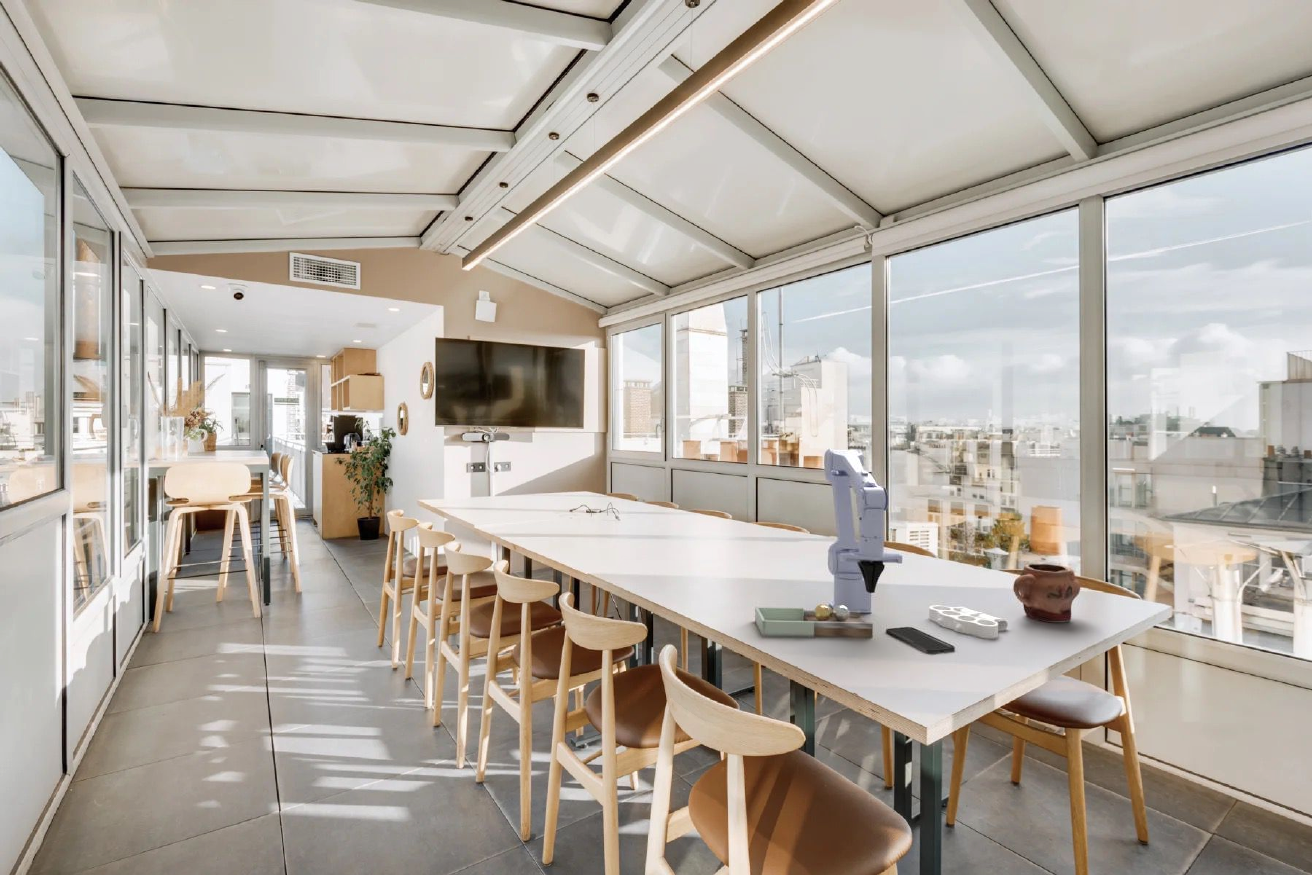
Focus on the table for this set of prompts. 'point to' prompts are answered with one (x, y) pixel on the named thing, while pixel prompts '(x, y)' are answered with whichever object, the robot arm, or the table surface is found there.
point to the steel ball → (841, 613)
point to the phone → (920, 640)
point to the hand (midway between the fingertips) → (870, 591)
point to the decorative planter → (1047, 591)
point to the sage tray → (783, 622)
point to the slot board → (840, 625)
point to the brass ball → (822, 613)
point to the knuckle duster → (967, 621)
